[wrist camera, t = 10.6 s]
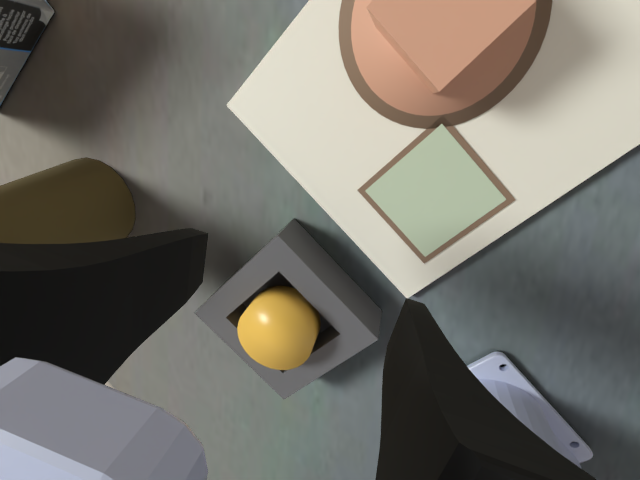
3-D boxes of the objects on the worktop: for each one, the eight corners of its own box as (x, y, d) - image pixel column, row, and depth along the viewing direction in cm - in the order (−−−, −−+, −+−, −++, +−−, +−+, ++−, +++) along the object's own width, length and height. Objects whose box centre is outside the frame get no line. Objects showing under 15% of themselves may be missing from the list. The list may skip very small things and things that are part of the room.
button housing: (381, 310, 23) (378, 339, 20) (297, 367, 26) (283, 399, 23) (294, 218, 22) (277, 235, 19) (217, 289, 25) (194, 312, 22)
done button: (335, 325, 21) (329, 346, 19) (286, 359, 23) (276, 381, 21) (283, 272, 21) (271, 288, 19) (237, 311, 22) (222, 330, 21)
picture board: (823, 13, 14) (844, 9, 13) (407, 293, 22) (407, 299, 21) (588, -344, 12) (598, -369, 11) (231, 105, 20) (225, 105, 19)
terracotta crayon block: (508, 21, 15) (539, -3, 12) (432, 93, 17) (439, 91, 13) (447, -54, 15) (460, -103, 11) (375, 27, 16) (366, 7, 13)
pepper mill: (73, 138, 23) (-181, 167, 13) (148, 196, 23) (-45, 268, 13) (49, 207, 26) (-180, 275, 16) (117, 259, 26) (-65, 358, 16)
